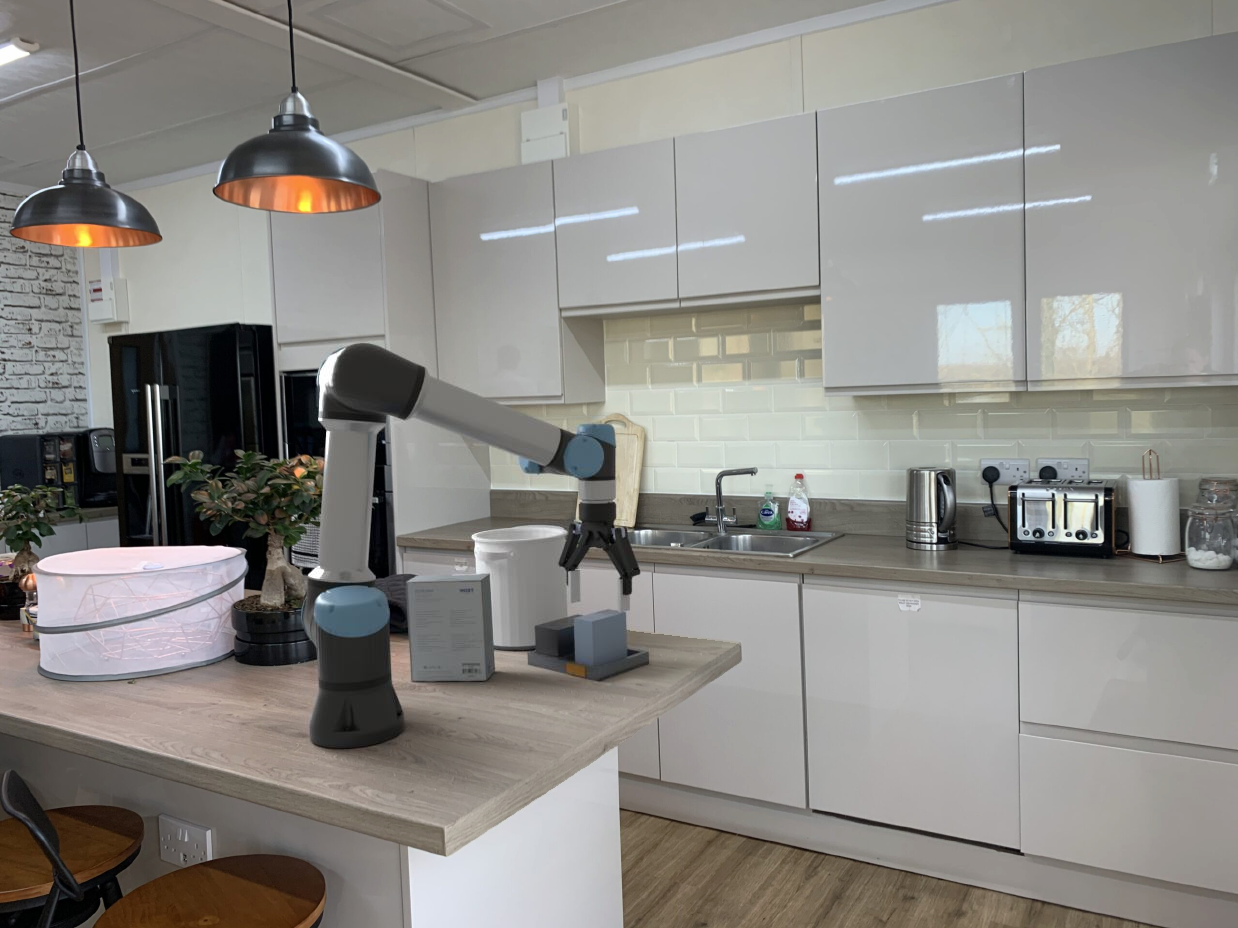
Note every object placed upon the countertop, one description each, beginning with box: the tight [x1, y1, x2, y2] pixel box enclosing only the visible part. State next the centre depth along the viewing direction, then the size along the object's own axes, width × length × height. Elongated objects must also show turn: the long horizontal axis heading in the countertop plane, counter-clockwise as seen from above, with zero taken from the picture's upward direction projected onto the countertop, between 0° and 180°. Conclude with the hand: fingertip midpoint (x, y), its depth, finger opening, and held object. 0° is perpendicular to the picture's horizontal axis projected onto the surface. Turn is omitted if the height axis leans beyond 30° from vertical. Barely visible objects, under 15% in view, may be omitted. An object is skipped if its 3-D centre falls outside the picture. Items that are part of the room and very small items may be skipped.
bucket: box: [471, 526, 569, 651], centre depth 212 cm, size 26×22×24 cm
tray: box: [527, 613, 650, 682], centre depth 191 cm, size 15×20×8 cm
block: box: [574, 608, 628, 666], centre depth 188 cm, size 10×5×10 cm, turn 138°
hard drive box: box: [405, 573, 496, 682], centre depth 185 cm, size 16×8×20 cm, turn 84°
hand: (598, 606), depth 187 cm, fingers open, 13 cm apart
